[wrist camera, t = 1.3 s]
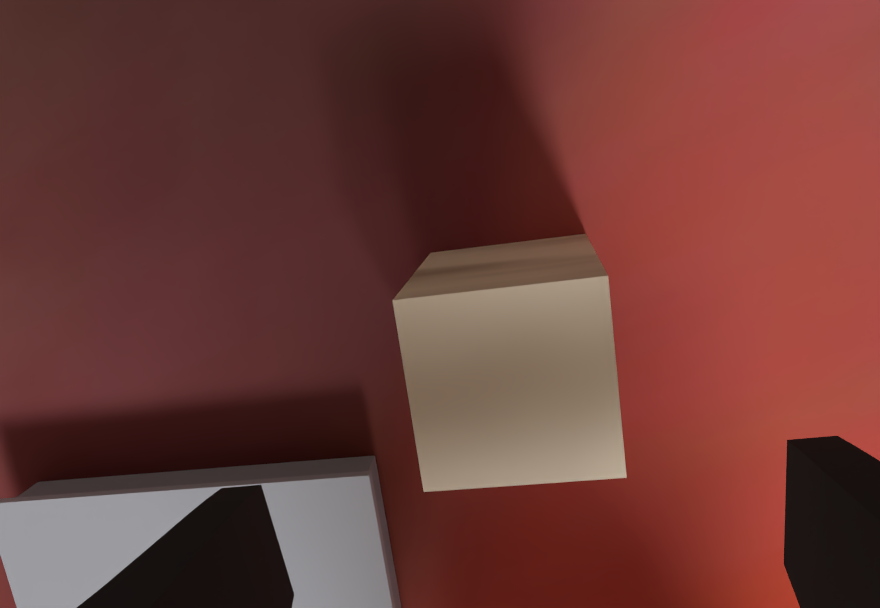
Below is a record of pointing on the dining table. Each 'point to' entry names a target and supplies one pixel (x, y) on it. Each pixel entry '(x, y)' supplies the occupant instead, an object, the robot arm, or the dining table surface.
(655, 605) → the dining table surface
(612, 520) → the dining table surface
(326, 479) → the thin white square tile
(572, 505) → the dining table surface
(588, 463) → the birch block
